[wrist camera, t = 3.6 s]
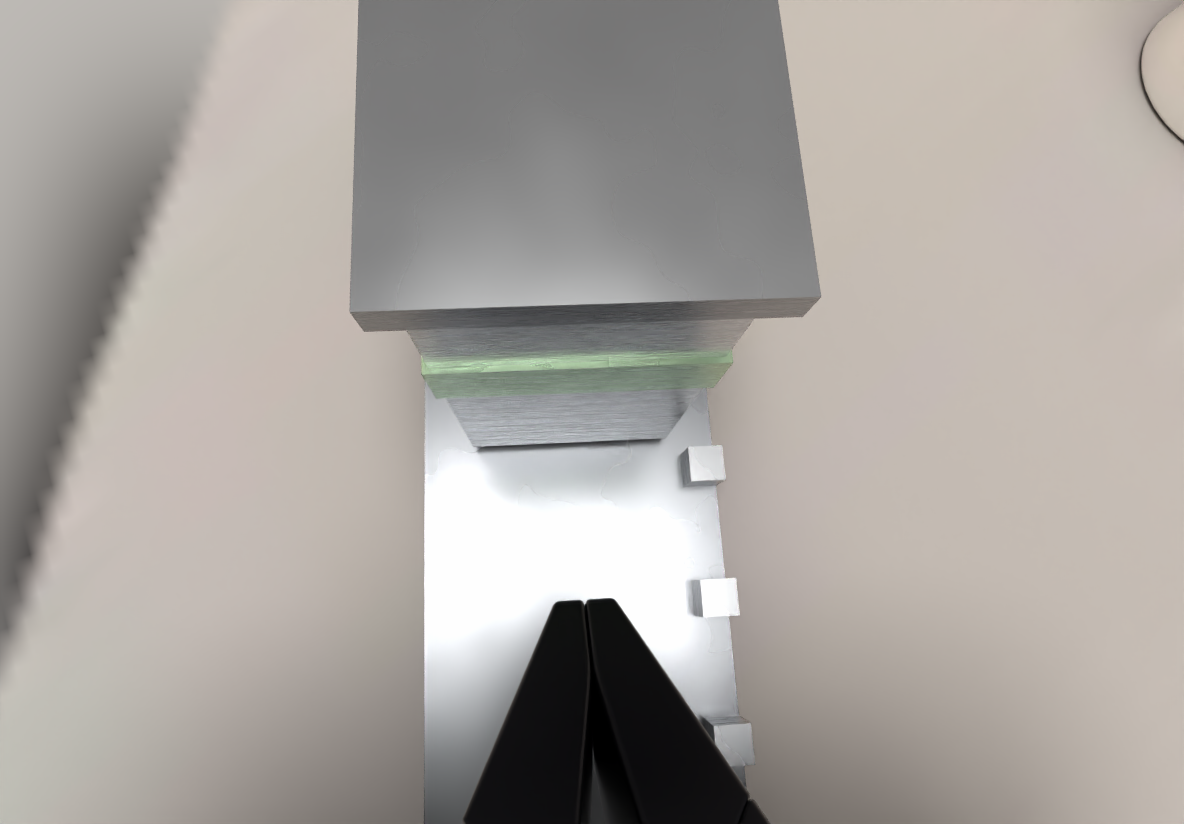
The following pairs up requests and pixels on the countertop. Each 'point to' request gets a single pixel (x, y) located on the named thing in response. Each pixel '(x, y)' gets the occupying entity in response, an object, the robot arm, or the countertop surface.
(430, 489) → the track
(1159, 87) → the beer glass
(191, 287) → the countertop surface
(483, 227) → the column
